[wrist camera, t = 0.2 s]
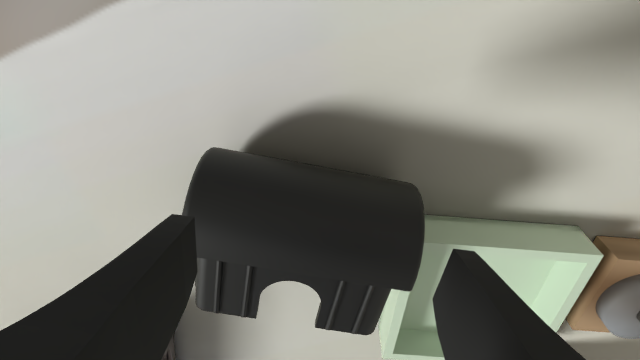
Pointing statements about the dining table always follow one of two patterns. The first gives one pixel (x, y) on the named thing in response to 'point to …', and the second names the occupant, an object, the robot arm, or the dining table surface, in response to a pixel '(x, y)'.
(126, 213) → the dining table surface
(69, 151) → the dining table surface
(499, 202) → the dining table surface
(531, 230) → the tray
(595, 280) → the pulley block
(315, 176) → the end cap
